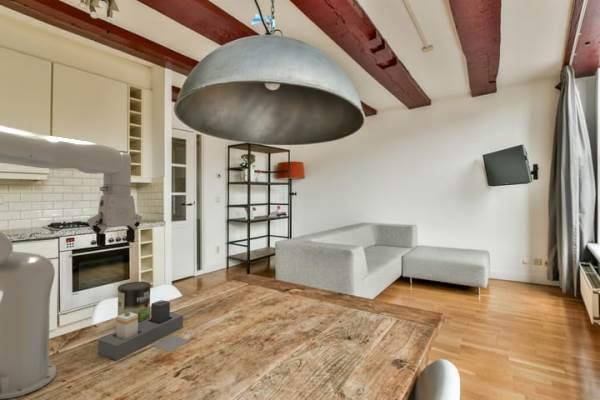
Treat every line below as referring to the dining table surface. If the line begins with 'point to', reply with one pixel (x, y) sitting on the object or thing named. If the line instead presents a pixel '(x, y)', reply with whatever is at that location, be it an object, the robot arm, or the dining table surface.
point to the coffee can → (134, 299)
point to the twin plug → (160, 311)
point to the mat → (171, 343)
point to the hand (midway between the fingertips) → (116, 244)
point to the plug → (127, 325)
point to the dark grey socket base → (138, 337)
